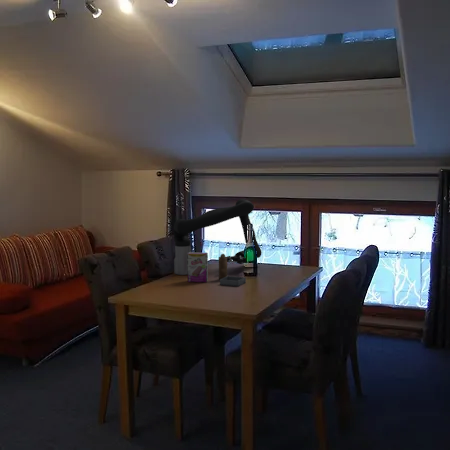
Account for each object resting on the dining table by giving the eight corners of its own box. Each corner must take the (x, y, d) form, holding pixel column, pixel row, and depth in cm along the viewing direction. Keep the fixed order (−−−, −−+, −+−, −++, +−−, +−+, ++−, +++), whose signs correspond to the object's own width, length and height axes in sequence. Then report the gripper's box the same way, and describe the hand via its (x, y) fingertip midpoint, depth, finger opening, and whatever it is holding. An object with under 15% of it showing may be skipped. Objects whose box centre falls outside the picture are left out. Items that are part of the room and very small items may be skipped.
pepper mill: (217, 280, 297) (217, 254, 295) (221, 278, 301) (220, 252, 300) (225, 280, 295) (224, 254, 293) (228, 279, 299) (228, 253, 298)
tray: (220, 284, 285) (219, 279, 284) (227, 281, 293) (227, 276, 293) (238, 286, 280) (238, 281, 279) (245, 282, 289) (245, 277, 288)
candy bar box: (187, 282, 292) (186, 253, 290) (188, 280, 297) (188, 252, 295) (207, 282, 291) (206, 253, 289) (208, 280, 296) (207, 252, 294)
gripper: (232, 250, 324) (220, 254, 310) (253, 251, 318) (242, 255, 304) (232, 262, 325) (221, 266, 311) (253, 263, 319) (242, 268, 304)
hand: (231, 261), depth 307 cm, fingers open, 8 cm apart
